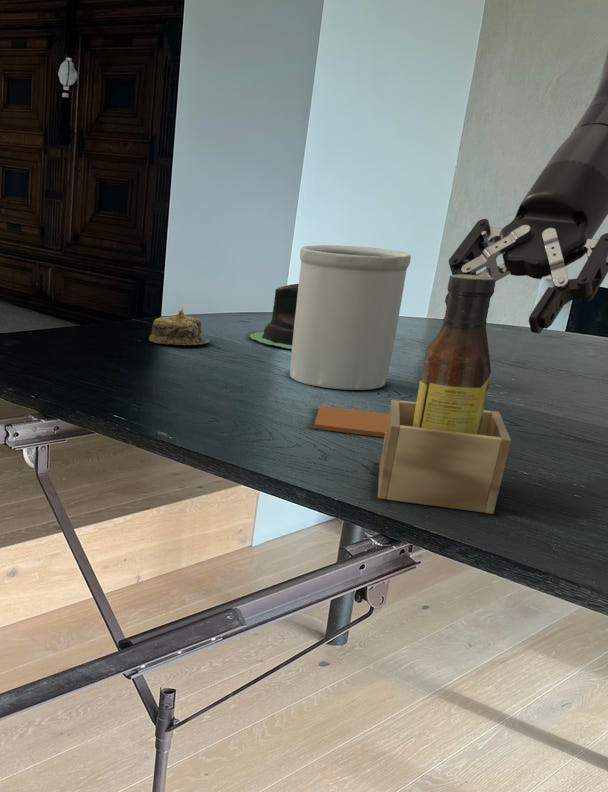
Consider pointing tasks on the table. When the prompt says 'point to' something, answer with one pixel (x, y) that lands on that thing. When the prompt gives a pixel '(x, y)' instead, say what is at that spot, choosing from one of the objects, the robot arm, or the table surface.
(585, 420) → the table surface
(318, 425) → the cork mat
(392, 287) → the utensil holder
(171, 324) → the cake
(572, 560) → the table surface
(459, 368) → the sauce bottle
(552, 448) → the table surface
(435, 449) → the box
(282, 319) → the chocolate cake
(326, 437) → the table surface
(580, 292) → the robot arm
